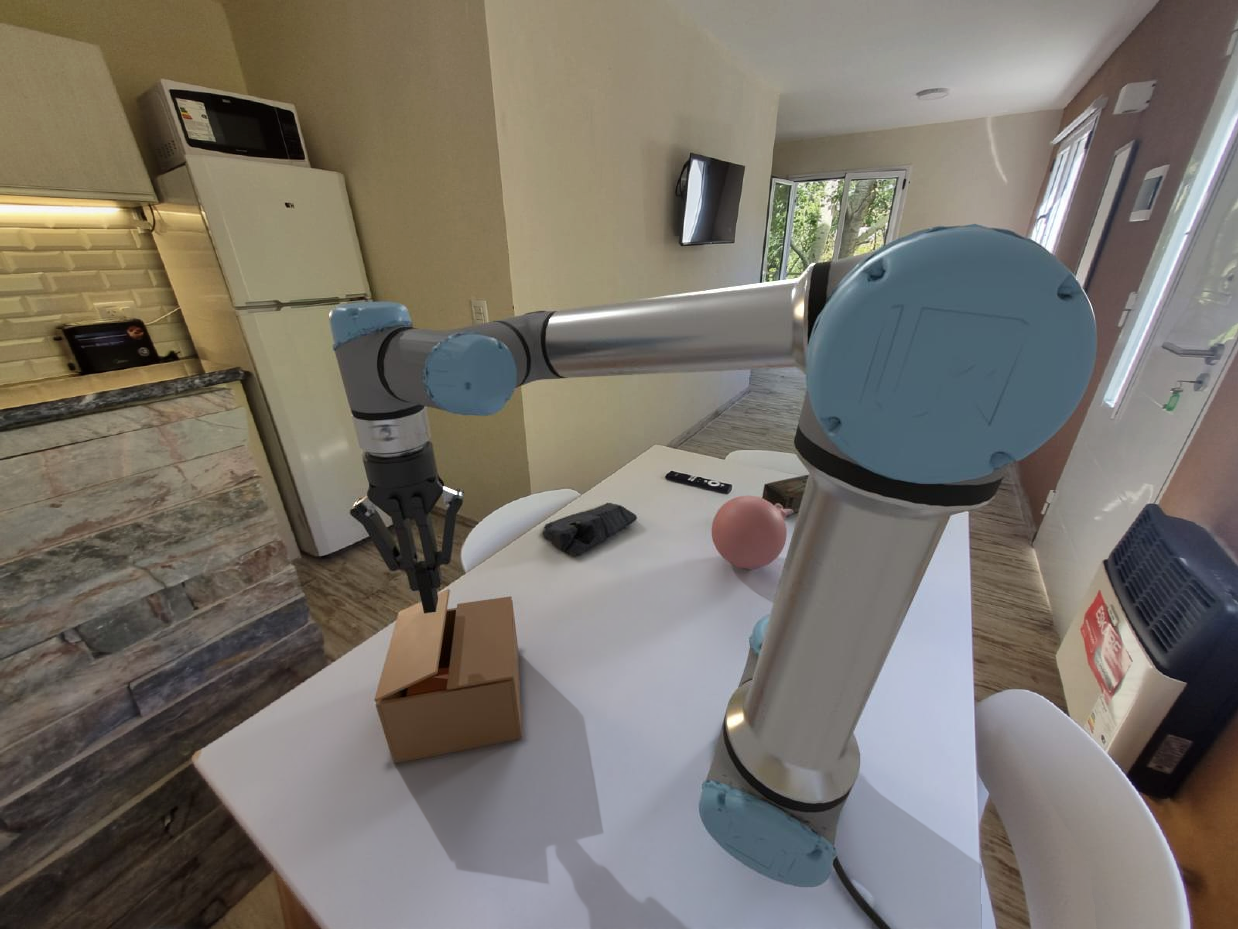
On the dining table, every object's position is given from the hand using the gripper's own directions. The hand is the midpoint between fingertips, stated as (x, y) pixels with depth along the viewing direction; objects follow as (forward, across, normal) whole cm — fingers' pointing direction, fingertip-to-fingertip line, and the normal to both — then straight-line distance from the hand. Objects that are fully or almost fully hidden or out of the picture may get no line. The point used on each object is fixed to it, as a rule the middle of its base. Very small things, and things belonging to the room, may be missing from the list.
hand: (431, 605), depth 65 cm
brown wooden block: (+19, +84, +44) cm, 97 cm away
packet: (+19, -2, 0) cm, 19 cm away
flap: (+6, -3, 0) cm, 6 cm away
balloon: (+19, +62, +24) cm, 69 cm away
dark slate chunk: (+19, +28, +43) cm, 55 cm away
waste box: (+19, +2, 0) cm, 19 cm away
